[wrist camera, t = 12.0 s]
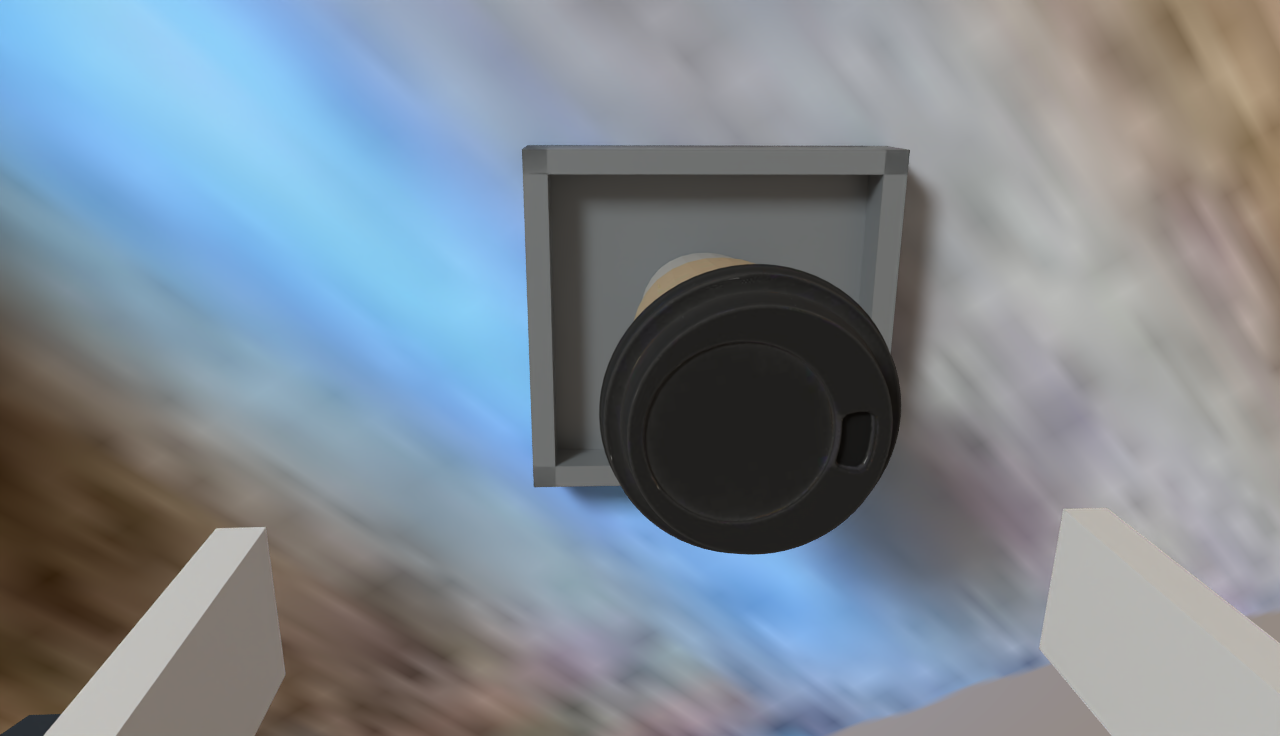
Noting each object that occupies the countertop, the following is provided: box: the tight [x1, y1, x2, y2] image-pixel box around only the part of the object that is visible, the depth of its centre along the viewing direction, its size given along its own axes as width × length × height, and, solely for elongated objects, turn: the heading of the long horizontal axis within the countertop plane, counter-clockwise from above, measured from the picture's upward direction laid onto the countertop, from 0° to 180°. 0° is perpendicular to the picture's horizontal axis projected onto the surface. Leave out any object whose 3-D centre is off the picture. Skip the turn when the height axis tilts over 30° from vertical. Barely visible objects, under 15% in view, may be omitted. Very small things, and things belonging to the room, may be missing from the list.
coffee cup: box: [599, 253, 901, 554], centre depth 32 cm, size 9×9×15 cm
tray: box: [522, 145, 910, 487], centre depth 39 cm, size 16×15×3 cm
